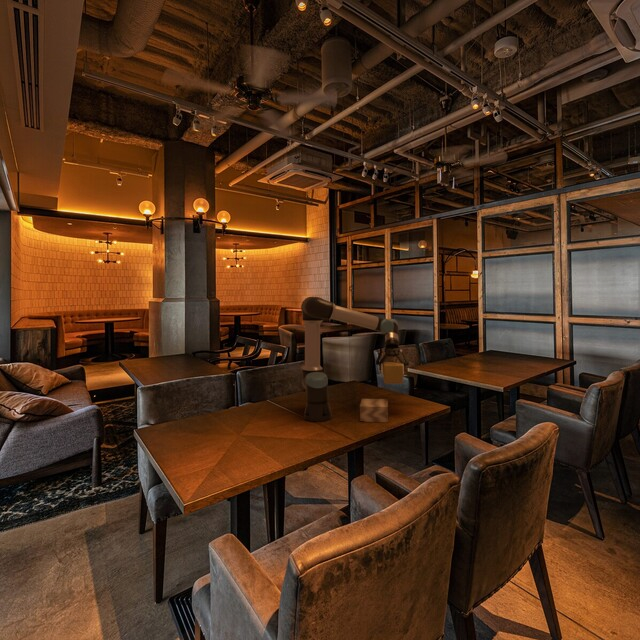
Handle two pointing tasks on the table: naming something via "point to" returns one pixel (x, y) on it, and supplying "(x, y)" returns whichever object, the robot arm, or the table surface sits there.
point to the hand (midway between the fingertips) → (392, 375)
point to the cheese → (393, 373)
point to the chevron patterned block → (374, 410)
